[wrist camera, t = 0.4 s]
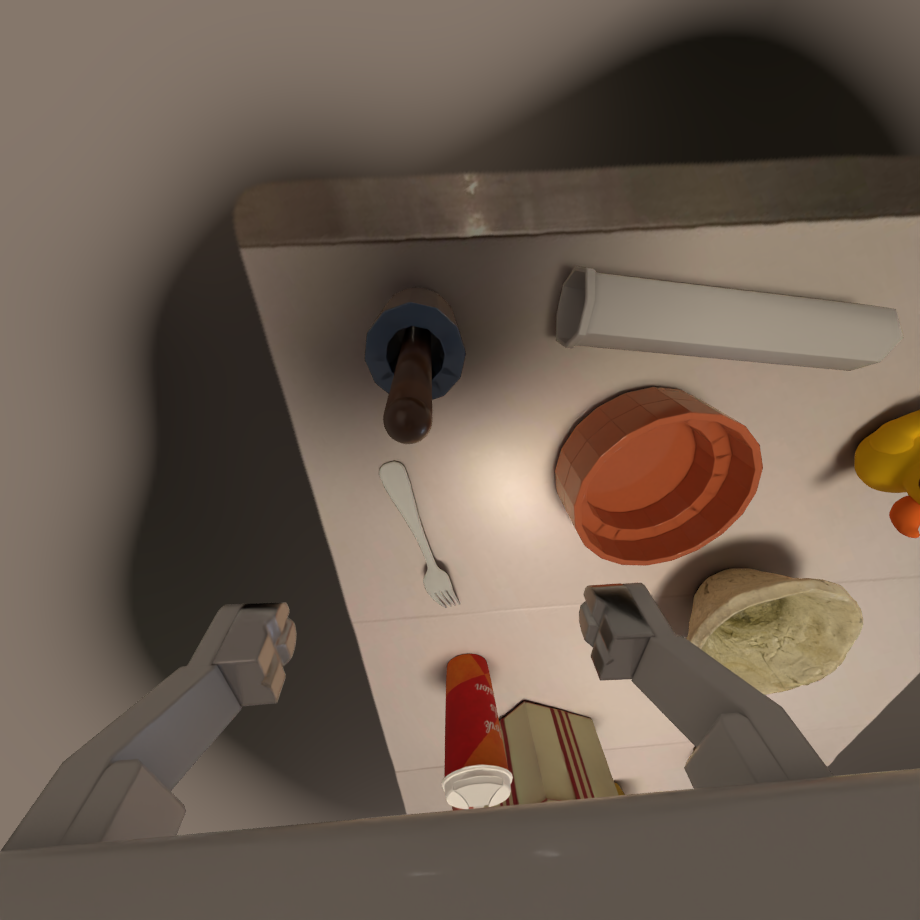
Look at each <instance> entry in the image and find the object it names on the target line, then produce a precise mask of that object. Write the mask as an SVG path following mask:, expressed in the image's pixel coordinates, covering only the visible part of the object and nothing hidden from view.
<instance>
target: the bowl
mask: <svg viewBox="0 0 920 920" xmlns="http://www.w3.org/2000/svg"><path fill="white" fill-rule="evenodd" d="M862 627H863V617H862V612H861V609H860V607H859V606H858V604H857V602H856V601H855V600H854V599H853V598H852V597H851V596H850V595H849V594H848V592H847V591H846V590H845V589H844V588H843V587H842V586H840V585H837V584H835V583H832V582H829V581H825V580H820V579H810V578H802V579H799V578H791V577H788V576H784V575H779V574H775V573H769V572H762V571H758V570H755V569H748V568H746V569H727V570H724V571H721V572H719V573H717V574H715V575H713V576H710V577H708V578H707V579H706V580H705V581H704V582H703V584H702V585H701V586H700V587H699V589H698V590H697V592H696V594H695V595H694V599H693V608H692V614H691V617H690V622H689V632H688V636H687V638H686V639H687V640H689V641H690V642H691V643H693V644H694V645H696V646H697V647H698V648H700V649H701V650H703V651H704V652H705V653H707V654H708V655H710V656H711V657H712V658H714V659H715V660H717V661H718V662H719V663H721V664H722V665H724V666H725V667H726V668H728V669H729V670H731V671H732V672H733V673H735V674H736V675H738V676H739V677H740V678H742V679H743V680H745V681H746V682H747V683H749V684H750V685H752V686H753V687H754V688H756V689H757V690H759V691H760V692H761V693H763V694H764V695H766V694H771V693H777V692H783V691H787V690H791V689H794V688H796V687H799V686H800V685H809V684H810V683H813V682H816V681H818V680H821V679H823V678H824V677H825V676H827V675H829V674H831V673H832V672H834V671H835V670H836V669H837V667H838V666H840V665H841V663H842V662H843V661H844V659H845V657H846V654H847V652H848V651H849V650H850V648H851V647H852V645H853V643H854V641H855V640H856V639H857V638H858V636H859V635H860V632H861V630H862Z"/></svg>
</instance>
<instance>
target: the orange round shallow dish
mask: <svg viewBox="0 0 920 920" xmlns="http://www.w3.org/2000/svg"><path fill="white" fill-rule="evenodd" d="M762 469H763V465H762V458H761V452H760V445H759V444H758V442H757V441H756V440H755V438H754V437H753V436H752V434H751V433H750V431H749V430H748V429H747V427H746V426H744V425H743V424H741V423H739V422H738V421H736V420H734V419H733V418H731V417H729V416H728V415H726V414H724V413H722V412H721V411H719V410H717V409H716V408H714V407H712V406H711V405H709V404H707V403H705V402H704V401H702V400H700V399H698V398H696V397H694V396H692V395H690V394H688V393H686V392H684V391H682V390H680V389H670V388H659V387H651V388H646V389H642V390H637V391H632V392H628V393H624V394H622V395H620V396H618V397H616V398H614V399H612V400H610V401H609V402H607V403H605V404H603V405H601V406H599V407H597V408H596V409H595V410H594V411H593V412H592V413H590V414H589V415H588V416H587V417H586V418H585V419H584V420H583V421H581V422H580V423H579V424H578V425H577V426H576V427H575V429H574V430H573V432H572V433H571V435H570V436H569V438H568V439H567V441H566V442H565V444H564V446H563V447H562V449H561V452H560V455H559V459H558V462H557V466H556V469H555V477H556V489H557V493H558V495H559V497H560V499H561V501H562V503H563V505H564V507H565V509H566V511H567V513H568V515H569V517H570V519H571V521H572V523H573V525H574V527H575V529H576V531H577V532H578V534H579V536H580V538H581V540H582V542H583V544H584V545H585V546H586V547H587V548H588V549H590V550H591V551H592V552H594V553H595V554H596V555H598V556H599V557H600V558H602V559H605V560H608V561H611V562H615V563H618V564H621V565H651V564H657V563H662V562H667V561H672V560H675V559H677V558H679V557H682V556H684V555H687V554H689V553H692V552H694V551H697V550H698V549H700V548H702V547H703V546H705V545H706V544H708V543H709V542H711V541H713V540H714V539H716V538H717V537H719V536H720V535H722V534H723V533H724V532H725V531H726V530H727V529H728V528H729V527H730V526H731V525H732V524H733V523H734V522H735V521H736V520H737V519H738V518H739V517H740V516H741V515H742V514H743V513H744V511H745V510H746V508H747V506H748V505H749V503H750V502H751V500H752V498H753V497H754V495H755V494H756V491H757V488H758V484H759V480H760V477H761V473H762Z"/></svg>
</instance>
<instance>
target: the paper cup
mask: <svg viewBox="0 0 920 920" xmlns="http://www.w3.org/2000/svg"><path fill="white" fill-rule="evenodd" d="M512 779H513V776H512V773H511V772H510V771H509V770H508V765H507V760H506V755H505V750H504V745H503V740H502V734H501V729H500V724H499V719H498V714H497V709H496V704H495V699H494V693H493V689H492V684H491V679H490V674H489V669H488V665H487V662H486V660H485V659H484V658H483V657H481V656H479V655H476V654H463V655H459V656H456V657H454V658H453V659H451V660H450V661H449V663H448V665H447V675H446V718H445V778H444V779H443V781H442V788H443V790H444V791H445V795H446V800H447V802H448V803H449V804H450V805H451V806H453V807H456V808H460V809H469V807H474V809H475V808H484V805H488V806H489V807H491V806H495V805H497V804H500V803H502V802H503V801H505V800H506V799H507V798H508V797H509V796H510V792H511V785H510V784H511V783H512Z"/></svg>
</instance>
